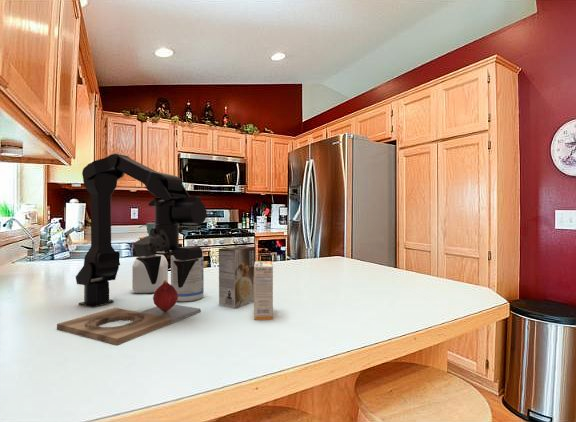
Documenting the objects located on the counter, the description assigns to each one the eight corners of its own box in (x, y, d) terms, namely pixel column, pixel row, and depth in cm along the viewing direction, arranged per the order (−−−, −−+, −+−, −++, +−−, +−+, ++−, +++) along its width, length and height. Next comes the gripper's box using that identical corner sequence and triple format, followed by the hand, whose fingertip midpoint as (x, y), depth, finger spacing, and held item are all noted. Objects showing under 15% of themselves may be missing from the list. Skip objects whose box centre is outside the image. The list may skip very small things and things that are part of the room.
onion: (182, 309, 83) (182, 278, 83) (167, 316, 78) (167, 283, 78) (164, 307, 85) (164, 277, 85) (148, 313, 80) (148, 281, 80)
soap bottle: (140, 288, 112) (140, 222, 112) (169, 287, 113) (169, 222, 113) (130, 294, 102) (130, 223, 103) (161, 293, 103) (161, 223, 104)
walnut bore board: (56, 329, 71) (56, 323, 71) (114, 312, 84) (114, 307, 84) (117, 345, 63) (117, 338, 63) (171, 323, 75) (171, 318, 75)
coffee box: (239, 298, 98) (239, 245, 98) (256, 301, 95) (256, 246, 95) (217, 305, 90) (218, 248, 90) (235, 309, 87) (235, 249, 87)
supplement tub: (209, 298, 98) (209, 250, 98) (179, 304, 91) (179, 252, 91) (194, 292, 105) (194, 247, 105) (165, 298, 98) (165, 250, 98)
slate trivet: (129, 318, 79) (129, 315, 79) (166, 306, 89) (167, 303, 89) (165, 325, 73) (165, 322, 73) (200, 311, 84) (200, 308, 84)
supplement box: (253, 310, 86) (254, 261, 86) (271, 309, 86) (272, 260, 86) (253, 320, 77) (253, 265, 78) (273, 319, 78) (273, 265, 78)
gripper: (113, 224, 78) (113, 288, 78) (170, 225, 70) (169, 297, 70) (150, 223, 88) (150, 280, 88) (204, 224, 80) (203, 286, 80)
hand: (166, 285), depth 81 cm, fingers open, 9 cm apart
